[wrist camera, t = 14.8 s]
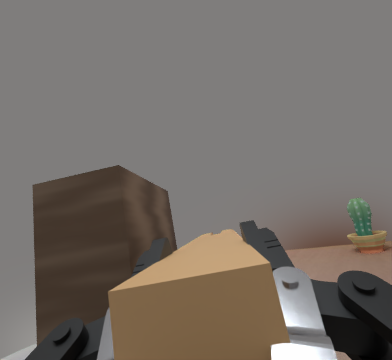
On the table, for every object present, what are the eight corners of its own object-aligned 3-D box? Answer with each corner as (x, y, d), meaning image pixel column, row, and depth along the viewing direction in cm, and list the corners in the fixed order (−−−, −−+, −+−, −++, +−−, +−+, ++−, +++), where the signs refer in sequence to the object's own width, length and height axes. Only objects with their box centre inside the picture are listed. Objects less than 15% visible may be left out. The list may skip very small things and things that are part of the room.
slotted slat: (302, 389, 4) (270, 262, 5) (119, 412, 5) (108, 291, 5) (236, 248, 28) (231, 228, 28) (206, 253, 28) (202, 234, 29)
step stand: (433, 902, 8) (239, 137, 15) (51, 872, 9) (32, 184, 16) (301, 474, 22) (231, 177, 28) (152, 488, 23) (119, 201, 30)
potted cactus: (402, 248, 93) (381, 193, 99) (375, 256, 90) (355, 198, 95) (368, 246, 108) (351, 198, 113) (344, 253, 104) (328, 203, 110)
